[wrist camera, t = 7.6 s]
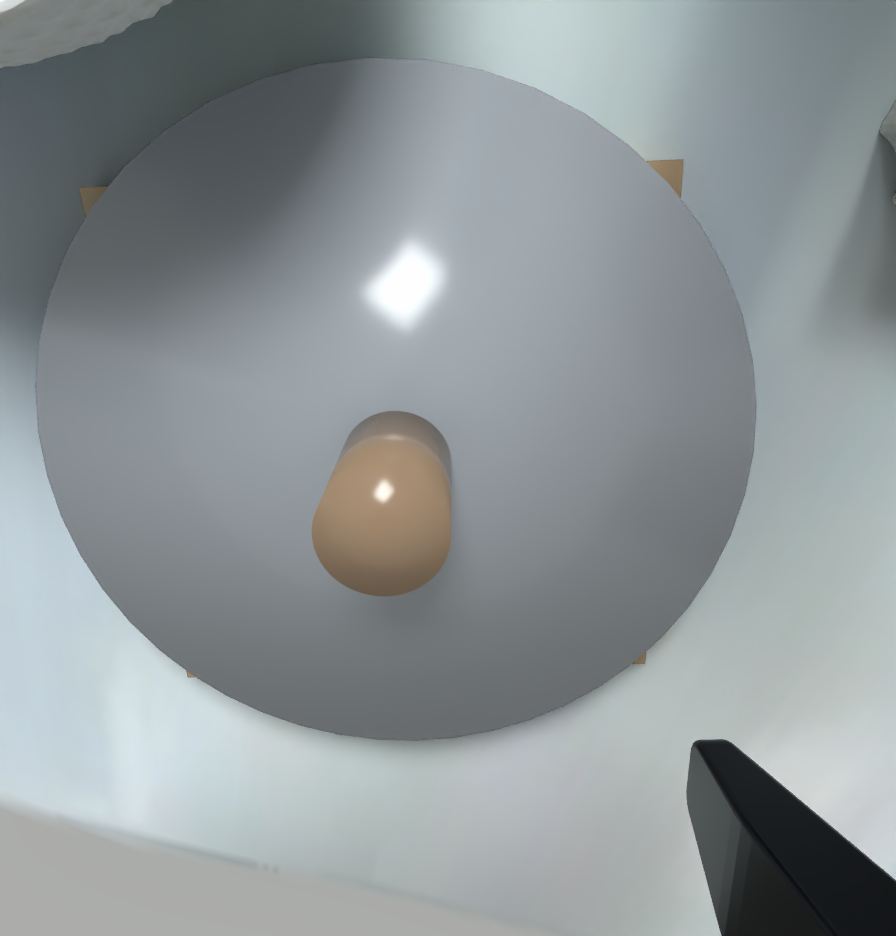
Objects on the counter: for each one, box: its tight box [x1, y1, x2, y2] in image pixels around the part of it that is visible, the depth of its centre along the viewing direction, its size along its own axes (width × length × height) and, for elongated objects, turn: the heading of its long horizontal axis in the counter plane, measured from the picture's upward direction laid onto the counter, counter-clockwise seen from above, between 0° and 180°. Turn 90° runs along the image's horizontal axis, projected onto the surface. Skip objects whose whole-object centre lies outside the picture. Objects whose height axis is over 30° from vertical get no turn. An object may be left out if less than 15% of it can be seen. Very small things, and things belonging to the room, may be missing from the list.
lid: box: [35, 58, 756, 740], centre depth 16 cm, size 18×18×5 cm
